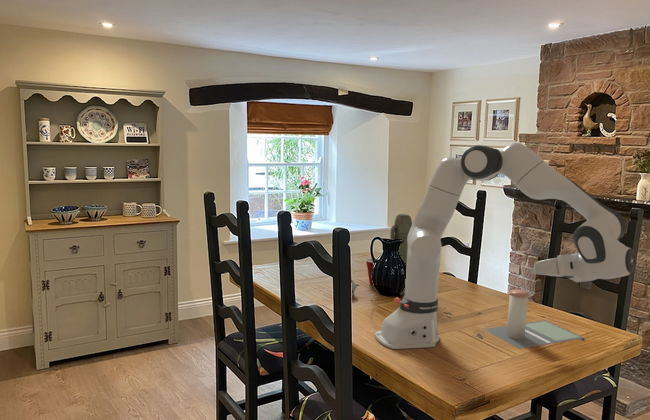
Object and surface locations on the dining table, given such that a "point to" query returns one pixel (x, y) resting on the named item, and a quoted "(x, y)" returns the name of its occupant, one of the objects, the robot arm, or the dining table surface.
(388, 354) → the dining table surface
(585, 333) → the dining table surface
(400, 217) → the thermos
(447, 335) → the dining table surface
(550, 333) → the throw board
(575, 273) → the robot arm
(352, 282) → the game die
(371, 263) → the plastic cup
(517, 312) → the ball canister
